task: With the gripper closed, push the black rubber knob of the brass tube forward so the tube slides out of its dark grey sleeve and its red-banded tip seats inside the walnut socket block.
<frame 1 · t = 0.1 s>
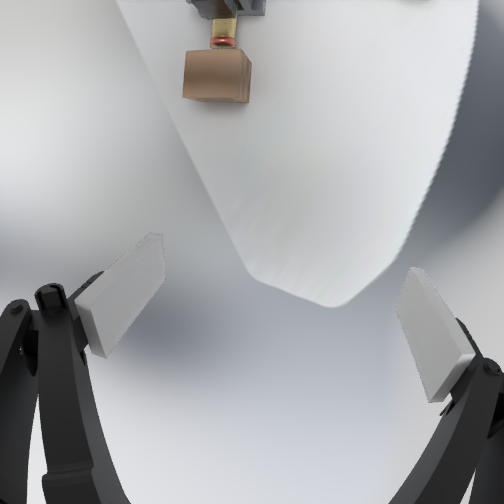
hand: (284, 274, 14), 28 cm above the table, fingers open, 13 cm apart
socket block: (227, 81, 35), on the table
tube: (220, 0, 24), point 7 cm above the table, slide at 0.0 cm
sleeve: (234, 2, 29), on the table
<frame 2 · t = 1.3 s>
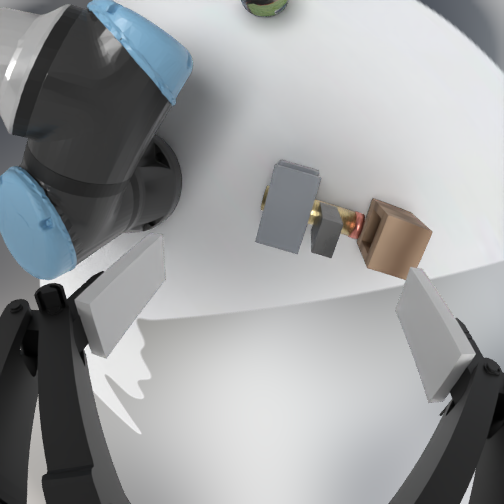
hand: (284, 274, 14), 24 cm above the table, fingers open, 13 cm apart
socket block: (384, 227, 36), on the table
beverage can: (269, 4, 27), on the table
tube: (313, 219, 31), point 7 cm above the table, slide at 0.0 cm
sleeve: (290, 197, 37), on the table
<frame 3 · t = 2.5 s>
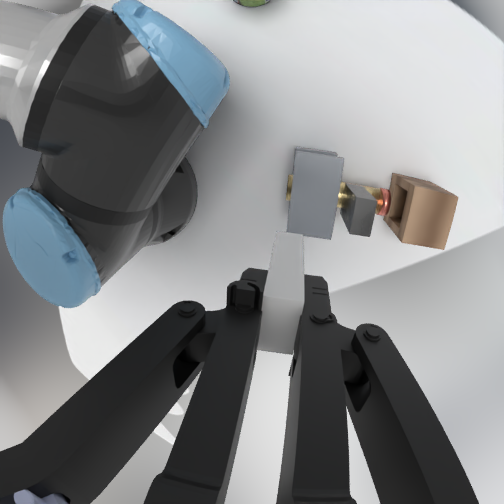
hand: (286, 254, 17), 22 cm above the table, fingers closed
socket block: (407, 200, 34), on the table
tube: (342, 201, 29), point 7 cm above the table, slide at 0.0 cm
sleeve: (311, 183, 36), on the table
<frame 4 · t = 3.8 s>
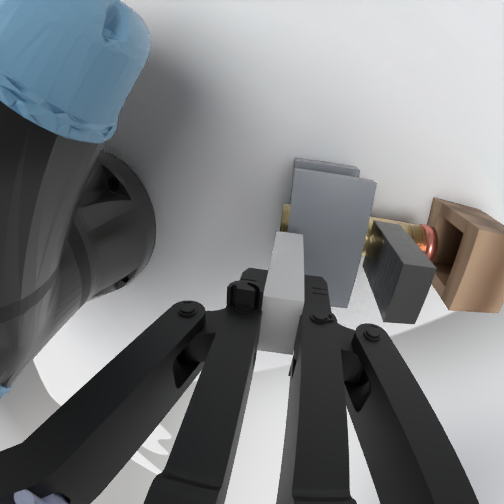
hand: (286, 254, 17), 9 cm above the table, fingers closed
socket block: (449, 235, 23), on the table
tube: (370, 253, 18), point 7 cm above the table, slide at 0.0 cm
sleeve: (318, 213, 24), on the table
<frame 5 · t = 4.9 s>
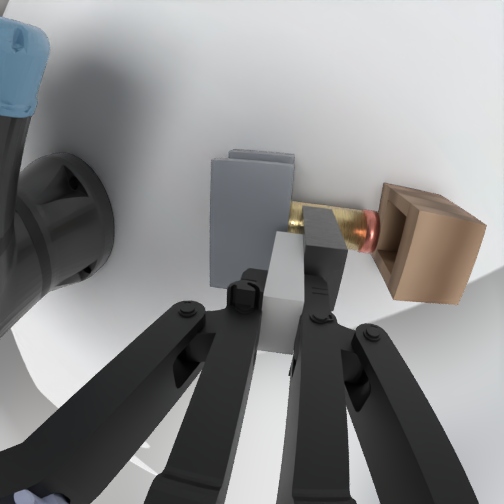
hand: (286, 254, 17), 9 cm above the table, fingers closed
socket block: (406, 222, 24), on the table
tube: (295, 238, 18), point 7 cm above the table, slide at 0.1 cm, touching gripper
sleeve: (259, 202, 25), on the table
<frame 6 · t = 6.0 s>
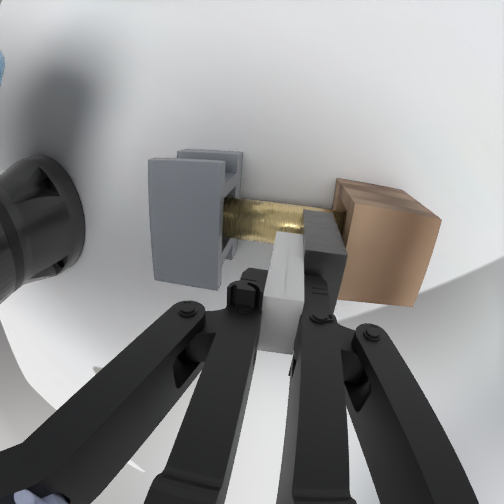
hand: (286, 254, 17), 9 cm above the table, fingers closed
socket block: (363, 219, 24), on the table
tube: (295, 242, 18), point 7 cm above the table, slide at 4.5 cm, touching gripper
sleeve: (211, 200, 25), on the table
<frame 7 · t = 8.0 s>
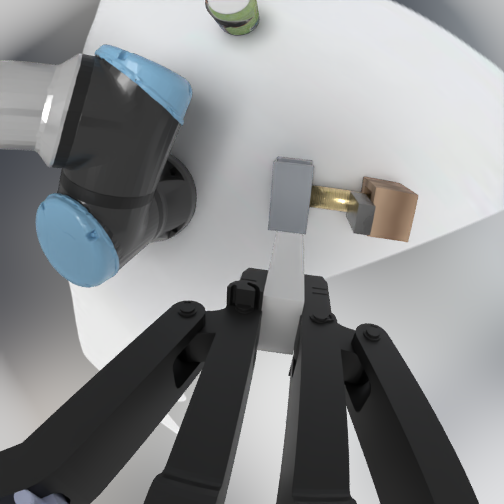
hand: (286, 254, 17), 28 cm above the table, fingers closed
socket block: (378, 200, 41), on the table
beverage can: (243, 23, 33), on the table
tube: (348, 206, 35), point 7 cm above the table, slide at 4.5 cm
sleeve: (292, 187, 42), on the table
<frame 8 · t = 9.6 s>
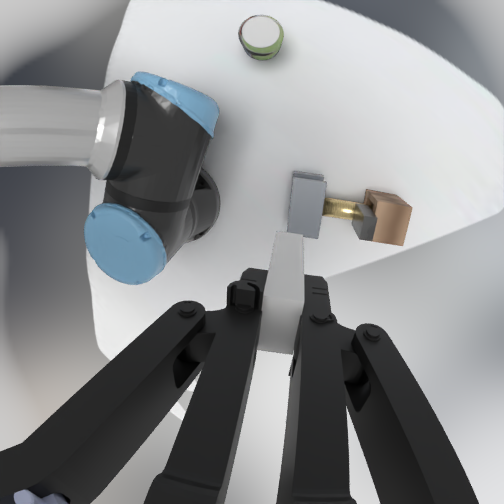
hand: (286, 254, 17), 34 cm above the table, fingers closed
socket block: (378, 209, 48), on the table
beverage can: (265, 48, 39), on the table
tube: (354, 216, 42), point 7 cm above the table, slide at 4.5 cm
sleeve: (305, 198, 49), on the table
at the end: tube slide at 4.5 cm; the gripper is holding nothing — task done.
